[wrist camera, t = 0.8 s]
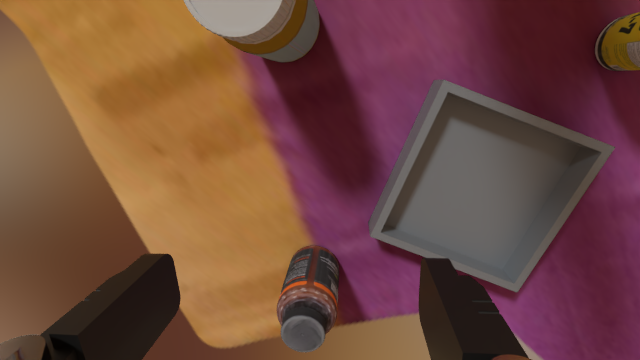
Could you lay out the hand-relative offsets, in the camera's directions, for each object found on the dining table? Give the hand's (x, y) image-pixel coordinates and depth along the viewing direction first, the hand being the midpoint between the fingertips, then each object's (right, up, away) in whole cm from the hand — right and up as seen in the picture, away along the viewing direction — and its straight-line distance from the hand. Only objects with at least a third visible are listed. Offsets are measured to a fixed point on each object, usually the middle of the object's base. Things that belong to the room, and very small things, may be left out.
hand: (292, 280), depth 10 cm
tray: (+17, +3, +24) cm, 30 cm away
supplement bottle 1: (0, -7, +29) cm, 30 cm away
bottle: (-3, +19, +22) cm, 29 cm away
